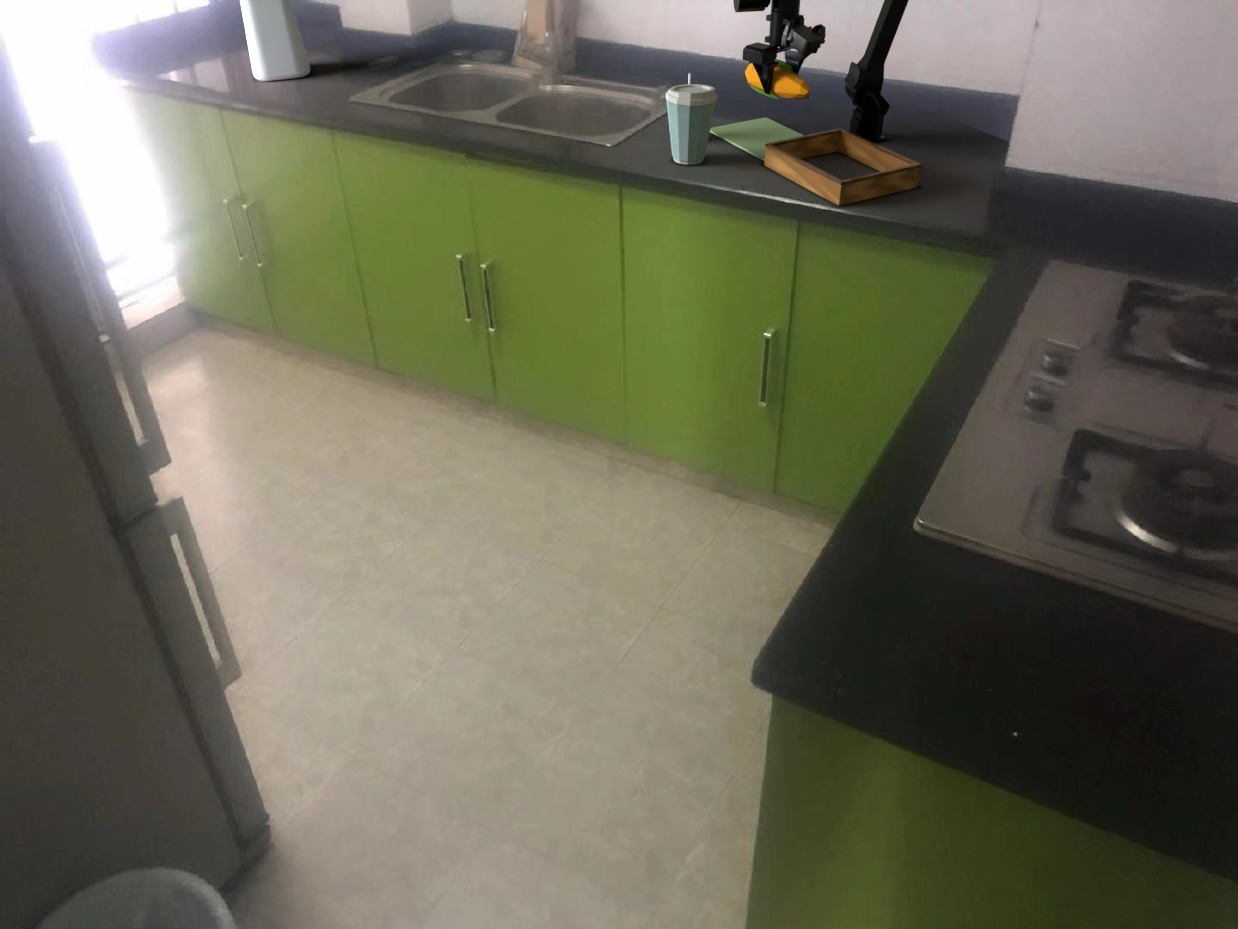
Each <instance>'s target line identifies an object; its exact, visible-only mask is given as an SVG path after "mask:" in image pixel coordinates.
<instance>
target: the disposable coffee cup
mask: <svg viewBox="0 0 1238 929" xmlns="http://www.w3.org/2000/svg"><path fill="white" fill-rule="evenodd" d="M664 98H665V102H666V110H667V120H668V129H669V137H670V139H669V140H670V147H671V148H670V149H671V156H672V158H673V161H674V162H675V163H677V164H680V165H685V166H692V165H694V166H695V165H698V164H701V163H702V162H703V161H704V158H705V157H706V152H707V149H708V148H707V147H708V142H709V137H710V133H711V132H710V128H712V124H713V117H714V113H715V107H716V103H717V100H719V98H718V93H717V92H716V88H715V87H714V86H711V85H707V84H699V83H698V84H697V83H691V84H688V83H686V84H677V85H673V86H671V87H670V88H668V90H667V91H665V96H664Z"/></svg>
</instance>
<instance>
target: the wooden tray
mask: <svg viewBox="0 0 1238 929" xmlns="http://www.w3.org/2000/svg"><path fill="white" fill-rule="evenodd" d="M765 147H766V148H765V161H763V163H764V167H766V168H768V169H770V170H772V171H773V172H775V173H777V174H779V175H781V176H782V177H784V178H786V179H788V180H790V181H792V182H794V183H795V184H797V185H799V186H801V187H803V188H805V189H806V190H808V191H810V192H812V193H814V194H816V195H817V196H819V197H821V198H823V199H825V200H826V201H829V202H831V203H832V204H834V205H836V206H838V207H840V206H841V207H842V206H845V205H849V204H852V203H853V204H854V203H857V202H861V201H862V202H863V201H865V200H870V199H873V198H878V197H883V196H887V195H890V194H895V193H899V192H903V191H907V190H912V189H915V188H918V184H919V179H920V173H921V167H922V163H921V162H918V161H916V160H914V159H912V158H910V157H907V156H904V155H903V154H900V153H897V152H896V151H893V150H892V149H890V148H887V147H884V146H882V145H880V144H878V143H876V142H871V141H869V140H866V139H864V138H862V137H860V136H857V135H855V134H853V133H851V132H849V130H847V129H844V128H841V127H840V128H834V129H830V130H824V131H820V132H815V133H810V134H805V136H800V137H795V138H790V139H785V140H780V141H776V142H771V143H767V144H765ZM836 152H839V153H840V154H842V155H845V156H847V157H849V158H851V159H853V160H855V161H857V162H859V163H862V164H864V165H866V166H867V167H870V168H872V169H874V170H876V171H877V172H873V173H868V174H864V175H860V176H856V177H851V178H847V179H841V178H839V177H837V176H835V175H833V174H831V173H829V172H827V171H826V170H823V169H821V168H819V167H817V166H815V165H813V164H811V163H809V162H807V161H805V159H808V158H814V157H817V156H818V157H819V156H821V155H827V154H831V153H836Z"/></svg>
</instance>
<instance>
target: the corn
mask: <svg viewBox="0 0 1238 929" xmlns="http://www.w3.org/2000/svg"><path fill="white" fill-rule="evenodd" d="M775 61H777V62H779V64H778V65H777V66H776V67H775V68H774V72H773V79H772V87H771V92H770V94H765V92H764V89H763V87H762V84H761V82H760V79H759V77H758V74H757V72H756V70H755V68H754V66H753V64H752V63H750V62H749V61H748V62H747V63H748V64H747V67H746V69H745V71H744V74H745V76H744V78H745V81H746V83H747V84H748V85H749V87H750V88H751V89H752V90H754V91H756V92H757V93H759V94H761V95H764V96H767V97H768V98H771V99H774V100H777V101H781V99H780V98H785V99H793V100H794V99H795V100H806V99H809V97H810V92H811V88H810V85H809V84H808V83H807V82H806V81H805V80H804V79H802V77H801V76H799V74H798V75H797V74H796V73H794V72H793V70H792V66H790V65H789V64H788V63H786V62H785V61H783V60H781V59H777V58H776V59H775Z"/></svg>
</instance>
